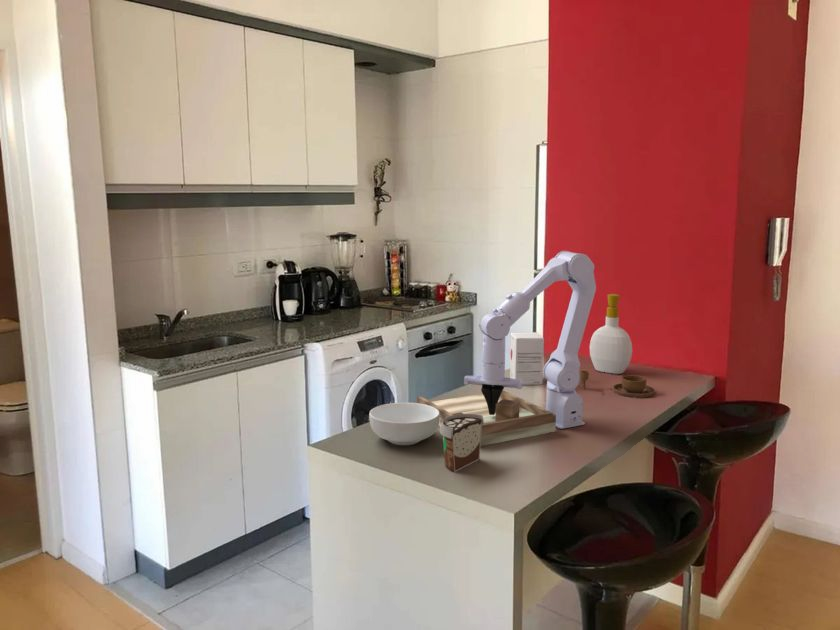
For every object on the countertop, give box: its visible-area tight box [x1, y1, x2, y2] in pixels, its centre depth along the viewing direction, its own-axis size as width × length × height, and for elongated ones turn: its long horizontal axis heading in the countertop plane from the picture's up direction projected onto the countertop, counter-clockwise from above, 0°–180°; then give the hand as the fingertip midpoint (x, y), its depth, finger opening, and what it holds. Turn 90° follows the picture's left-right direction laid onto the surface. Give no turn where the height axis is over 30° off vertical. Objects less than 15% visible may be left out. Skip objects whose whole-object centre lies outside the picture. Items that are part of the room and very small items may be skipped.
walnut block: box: [495, 399, 520, 421], centre depth 173 cm, size 4×4×4 cm
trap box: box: [416, 390, 556, 447], centre depth 179 cm, size 29×24×5 cm
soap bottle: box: [589, 293, 633, 375], centre depth 228 cm, size 14×9×26 cm, turn 52°
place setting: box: [579, 370, 655, 399], centre depth 209 cm, size 18×20×6 cm
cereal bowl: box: [368, 402, 440, 446], centre depth 166 cm, size 17×17×7 cm
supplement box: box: [509, 331, 545, 386], centre depth 217 cm, size 9×9×15 cm
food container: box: [439, 414, 484, 473], centre depth 152 cm, size 12×6×10 cm, turn 141°
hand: (492, 413), depth 176 cm, fingers closed
